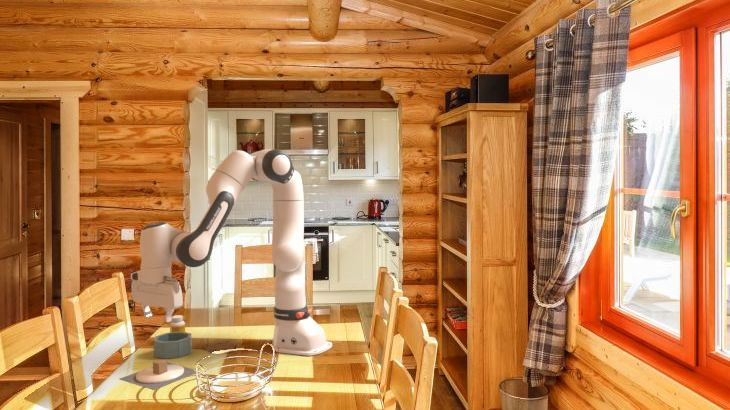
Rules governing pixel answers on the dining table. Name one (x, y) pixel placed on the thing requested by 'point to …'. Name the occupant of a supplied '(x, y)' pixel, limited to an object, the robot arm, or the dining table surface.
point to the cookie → (222, 346)
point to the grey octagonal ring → (172, 345)
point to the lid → (160, 373)
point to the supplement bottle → (177, 324)
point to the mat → (155, 386)
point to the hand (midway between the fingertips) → (157, 319)
